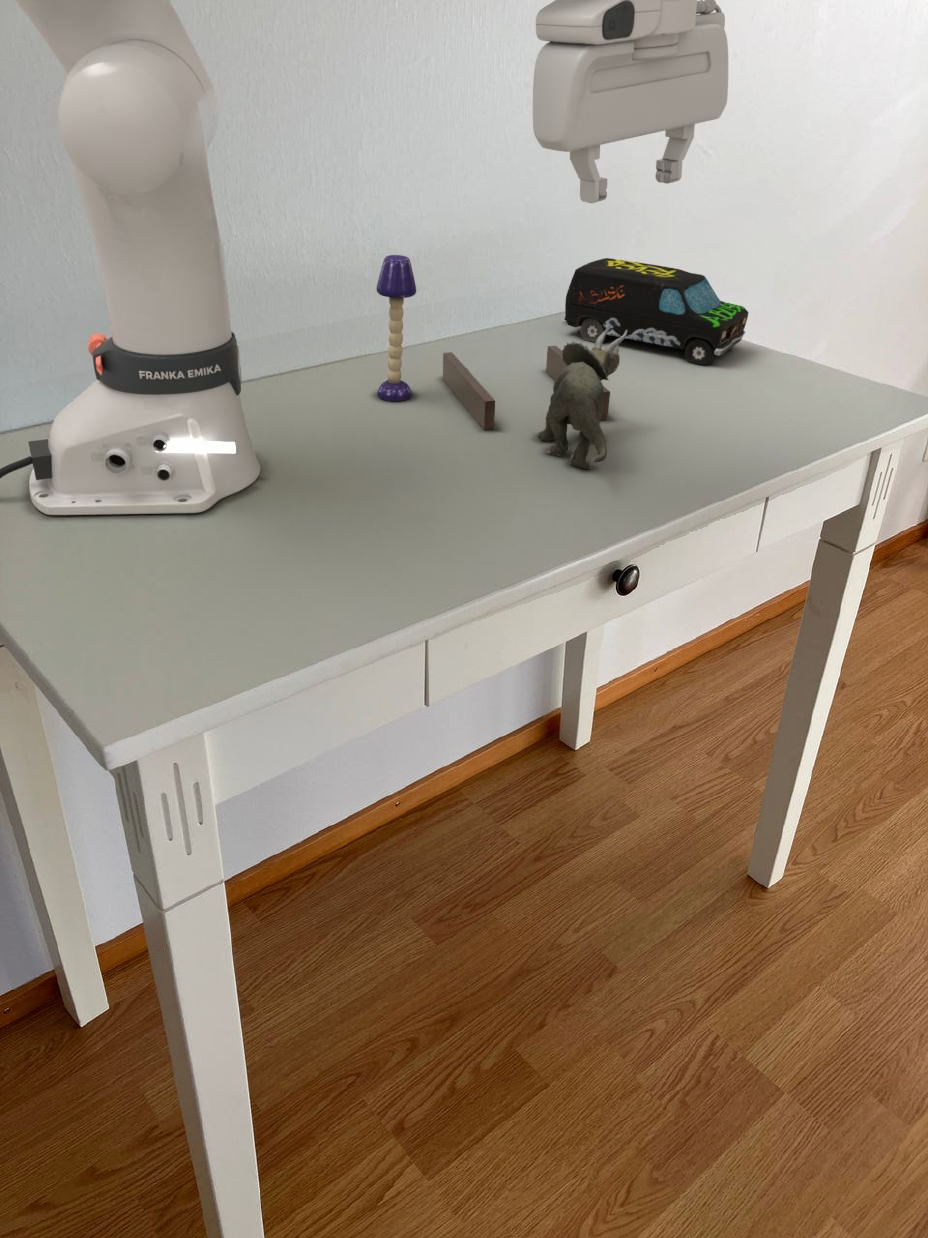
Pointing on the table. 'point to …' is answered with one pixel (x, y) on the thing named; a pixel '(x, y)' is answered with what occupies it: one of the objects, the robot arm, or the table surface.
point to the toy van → (653, 308)
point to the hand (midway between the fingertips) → (631, 190)
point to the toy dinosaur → (581, 399)
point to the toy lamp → (395, 321)
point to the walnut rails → (481, 400)
